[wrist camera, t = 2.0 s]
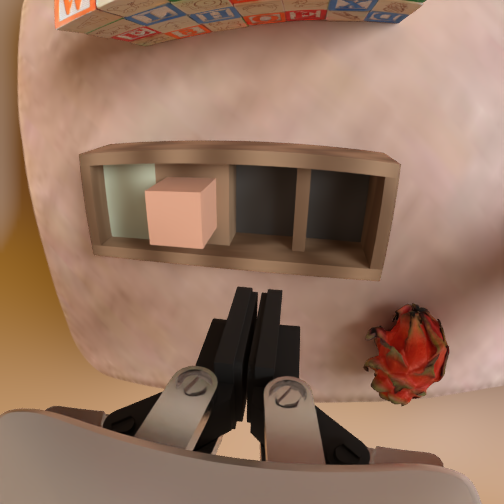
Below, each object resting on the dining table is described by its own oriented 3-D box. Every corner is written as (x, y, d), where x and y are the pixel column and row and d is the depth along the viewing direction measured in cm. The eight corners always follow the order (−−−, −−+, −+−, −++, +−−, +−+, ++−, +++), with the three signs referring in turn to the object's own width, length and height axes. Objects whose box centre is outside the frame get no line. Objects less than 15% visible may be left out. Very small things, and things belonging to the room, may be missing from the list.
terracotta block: (215, 178, 24) (200, 192, 20) (216, 227, 26) (202, 249, 22) (166, 177, 24) (144, 190, 21) (170, 224, 26) (150, 244, 23)
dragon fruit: (382, 367, 36) (394, 276, 32) (444, 387, 30) (468, 292, 26) (347, 407, 30) (358, 307, 27) (418, 435, 24) (450, 332, 21)
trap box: (383, 152, 24) (400, 164, 19) (369, 252, 28) (379, 281, 23) (110, 144, 27) (79, 154, 22) (119, 232, 31) (93, 255, 26)
